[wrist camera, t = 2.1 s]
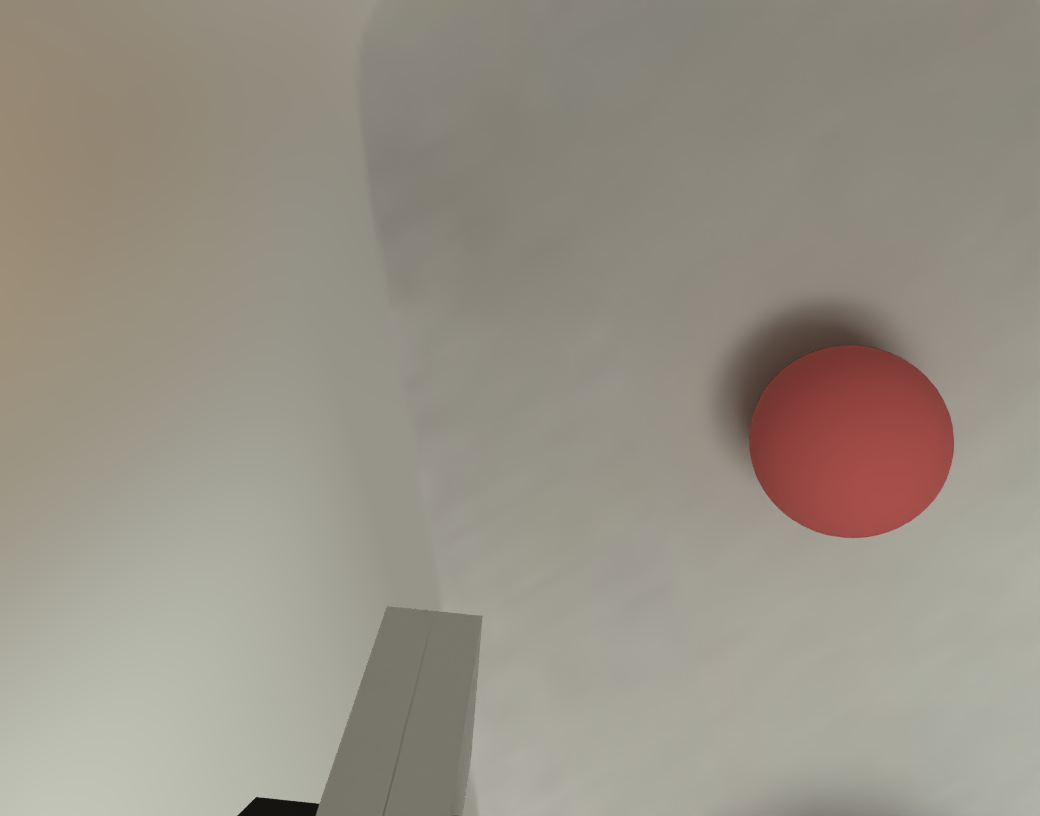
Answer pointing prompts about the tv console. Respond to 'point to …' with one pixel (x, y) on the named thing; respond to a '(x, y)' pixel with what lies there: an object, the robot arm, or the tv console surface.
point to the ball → (851, 441)
